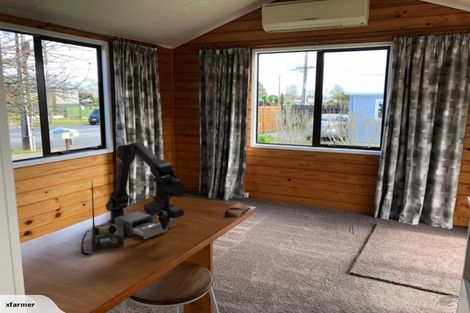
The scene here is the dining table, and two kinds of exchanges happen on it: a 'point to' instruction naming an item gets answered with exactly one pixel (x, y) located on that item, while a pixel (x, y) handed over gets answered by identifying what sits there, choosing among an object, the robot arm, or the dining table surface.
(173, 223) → the walnut block
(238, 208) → the sunglasses case
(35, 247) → the dining table surface
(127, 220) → the grey drawer cabinet
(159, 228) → the tray
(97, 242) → the radio
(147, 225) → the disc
